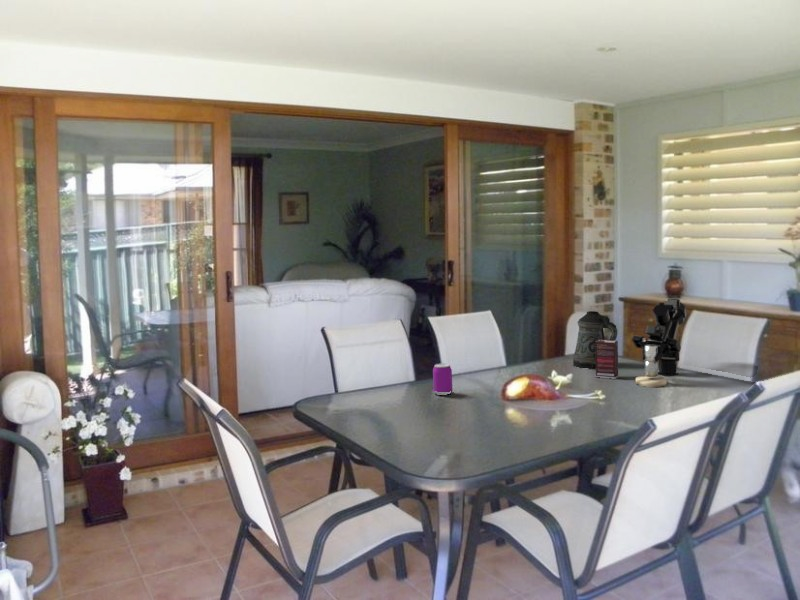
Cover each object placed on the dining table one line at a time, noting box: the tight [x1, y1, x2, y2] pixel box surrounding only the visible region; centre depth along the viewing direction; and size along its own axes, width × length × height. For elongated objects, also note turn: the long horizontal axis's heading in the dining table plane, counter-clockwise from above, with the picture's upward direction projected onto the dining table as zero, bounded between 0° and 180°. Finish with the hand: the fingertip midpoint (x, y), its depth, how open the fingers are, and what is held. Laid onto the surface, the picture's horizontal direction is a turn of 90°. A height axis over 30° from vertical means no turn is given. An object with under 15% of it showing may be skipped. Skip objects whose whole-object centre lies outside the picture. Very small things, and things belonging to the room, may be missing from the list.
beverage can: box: [432, 363, 453, 392], centre depth 296 cm, size 8×8×12 cm
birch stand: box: [635, 375, 668, 388], centre depth 299 cm, size 12×12×2 cm
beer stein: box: [572, 310, 618, 370], centre depth 335 cm, size 16×19×25 cm
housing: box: [644, 344, 659, 377], centre depth 298 cm, size 5×5×12 cm
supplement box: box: [595, 339, 619, 380], centre depth 312 cm, size 9×5×16 cm, turn 58°
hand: (649, 360), depth 297 cm, fingers closed on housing, 5 cm apart
